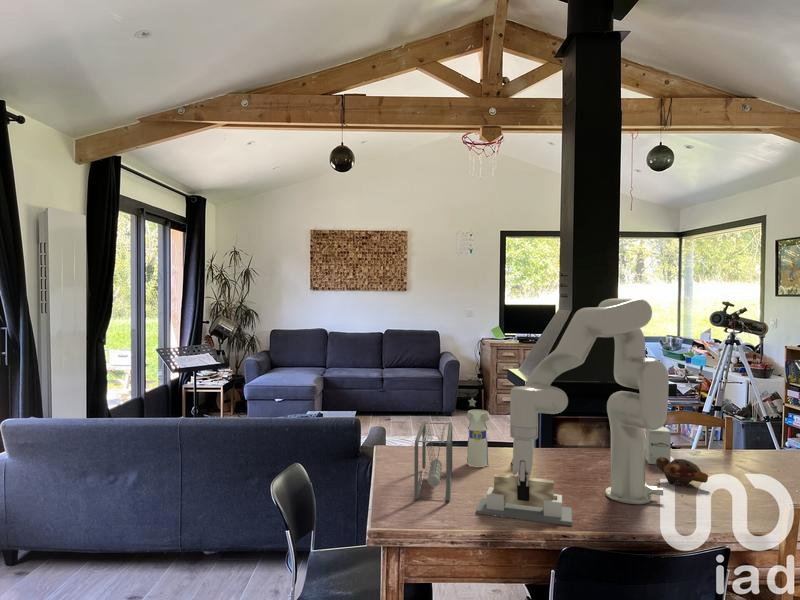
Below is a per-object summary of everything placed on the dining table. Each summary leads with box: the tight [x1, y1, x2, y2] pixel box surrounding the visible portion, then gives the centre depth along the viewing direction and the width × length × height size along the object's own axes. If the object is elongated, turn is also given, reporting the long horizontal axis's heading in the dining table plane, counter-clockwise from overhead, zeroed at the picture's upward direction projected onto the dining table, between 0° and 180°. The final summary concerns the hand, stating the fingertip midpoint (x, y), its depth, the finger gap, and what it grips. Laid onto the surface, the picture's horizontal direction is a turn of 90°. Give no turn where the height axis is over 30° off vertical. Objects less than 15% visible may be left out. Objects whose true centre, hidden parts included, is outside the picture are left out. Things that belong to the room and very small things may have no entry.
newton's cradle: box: [413, 420, 453, 502], centre depth 163 cm, size 30×10×18 cm, turn 173°
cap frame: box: [476, 486, 573, 527], centre depth 141 cm, size 25×10×5 cm, turn 72°
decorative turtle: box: [655, 457, 709, 488], centre depth 165 cm, size 10×15×8 cm, turn 51°
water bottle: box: [466, 397, 491, 466], centre depth 185 cm, size 8×9×25 cm
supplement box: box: [645, 426, 672, 465], centre depth 189 cm, size 7×7×13 cm
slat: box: [493, 473, 555, 508], centre depth 141 cm, size 16×2×7 cm, turn 72°
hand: (523, 497), depth 141 cm, fingers closed on slat, 2 cm apart
